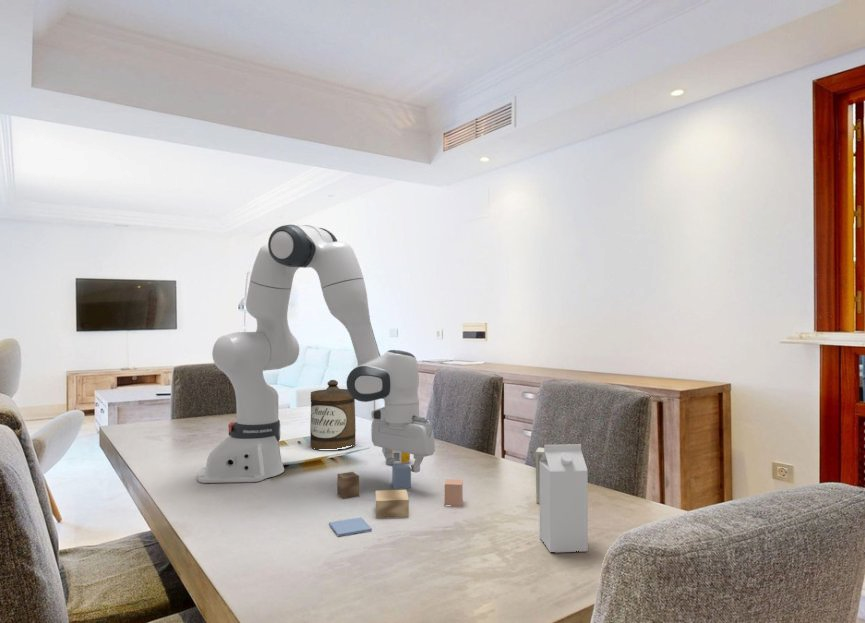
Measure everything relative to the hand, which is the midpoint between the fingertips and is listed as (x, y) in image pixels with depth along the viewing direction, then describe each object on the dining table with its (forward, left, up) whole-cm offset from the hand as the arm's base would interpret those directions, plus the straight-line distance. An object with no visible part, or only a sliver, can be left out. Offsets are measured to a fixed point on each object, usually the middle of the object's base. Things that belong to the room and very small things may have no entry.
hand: (402, 468), depth 142 cm
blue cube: (0, +1, -5) cm, 5 cm away
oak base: (-6, -17, -5) cm, 19 cm away
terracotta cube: (+9, -15, -5) cm, 18 cm away
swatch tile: (-16, -24, -5) cm, 30 cm away
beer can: (+4, +23, -5) cm, 23 cm away
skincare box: (+31, -20, -5) cm, 37 cm away
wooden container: (-13, +50, -5) cm, 52 cm away
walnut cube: (-14, -3, -5) cm, 15 cm away
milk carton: (+22, -43, -5) cm, 49 cm away
